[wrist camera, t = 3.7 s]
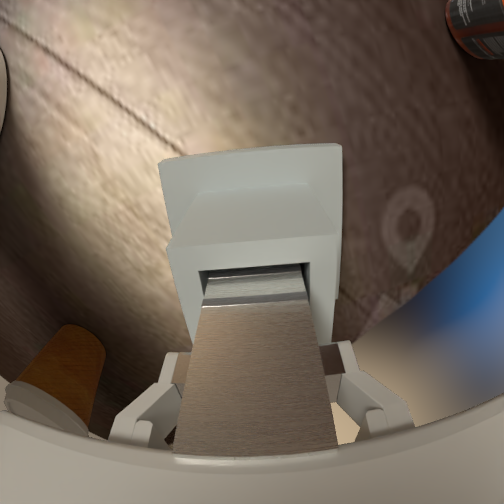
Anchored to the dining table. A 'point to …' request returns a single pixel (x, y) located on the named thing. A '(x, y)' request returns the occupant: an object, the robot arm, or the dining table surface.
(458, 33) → the supplement bottle
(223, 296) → the column
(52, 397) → the disposable coffee cup
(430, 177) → the dining table surface
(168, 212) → the stand base
